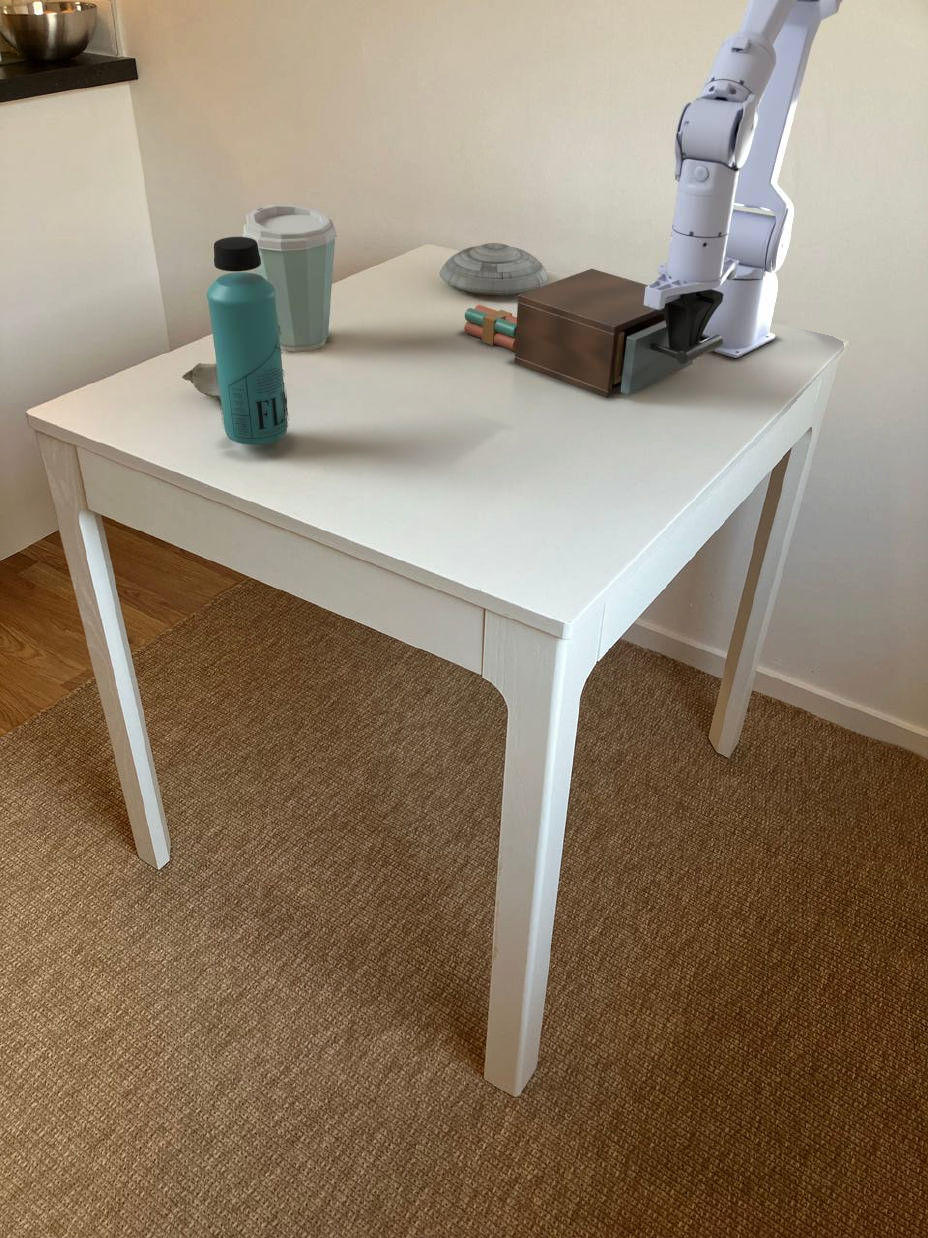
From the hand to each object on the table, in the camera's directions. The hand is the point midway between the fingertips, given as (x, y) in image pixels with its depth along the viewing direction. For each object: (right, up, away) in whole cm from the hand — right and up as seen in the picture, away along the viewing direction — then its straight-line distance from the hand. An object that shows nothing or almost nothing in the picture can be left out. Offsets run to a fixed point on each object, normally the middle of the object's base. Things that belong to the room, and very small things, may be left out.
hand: (681, 357), depth 114 cm
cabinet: (-8, +1, +9) cm, 12 cm away
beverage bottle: (-44, -11, -10) cm, 47 cm away
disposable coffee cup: (-44, +5, +12) cm, 46 cm away
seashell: (-50, -4, 0) cm, 50 cm away
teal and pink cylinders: (-20, +6, +14) cm, 25 cm away
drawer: (-4, 0, +5) cm, 7 cm away
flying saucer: (-20, +18, +31) cm, 40 cm away
